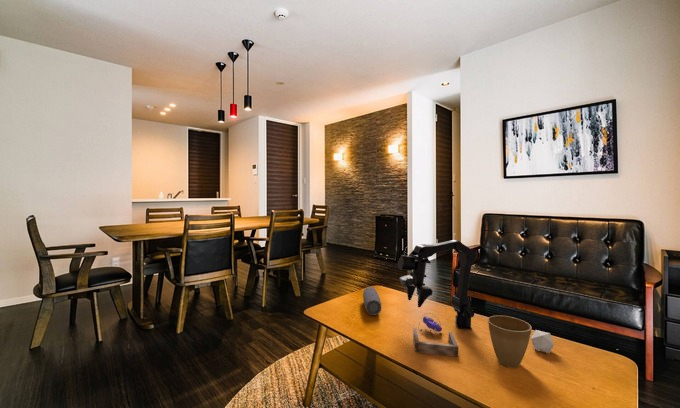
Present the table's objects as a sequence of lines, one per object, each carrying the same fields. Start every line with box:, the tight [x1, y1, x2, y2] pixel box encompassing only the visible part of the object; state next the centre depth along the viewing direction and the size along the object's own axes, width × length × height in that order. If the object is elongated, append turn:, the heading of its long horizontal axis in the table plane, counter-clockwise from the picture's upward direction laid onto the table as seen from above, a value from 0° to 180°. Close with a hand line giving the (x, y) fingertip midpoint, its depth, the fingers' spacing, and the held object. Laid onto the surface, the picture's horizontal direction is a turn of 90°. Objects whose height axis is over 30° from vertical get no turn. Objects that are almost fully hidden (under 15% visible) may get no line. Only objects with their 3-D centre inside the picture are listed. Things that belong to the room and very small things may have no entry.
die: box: [530, 329, 555, 354], centre depth 125 cm, size 8×9×10 cm
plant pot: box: [487, 315, 533, 369], centre depth 116 cm, size 15×15×16 cm
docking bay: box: [412, 328, 459, 358], centre depth 127 cm, size 17×14×4 cm
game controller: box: [418, 312, 443, 338], centre depth 142 cm, size 11×9×11 cm
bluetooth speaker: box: [362, 286, 382, 316], centre depth 168 cm, size 23×9×10 cm, turn 179°
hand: (414, 303), depth 140 cm, fingers open, 9 cm apart
